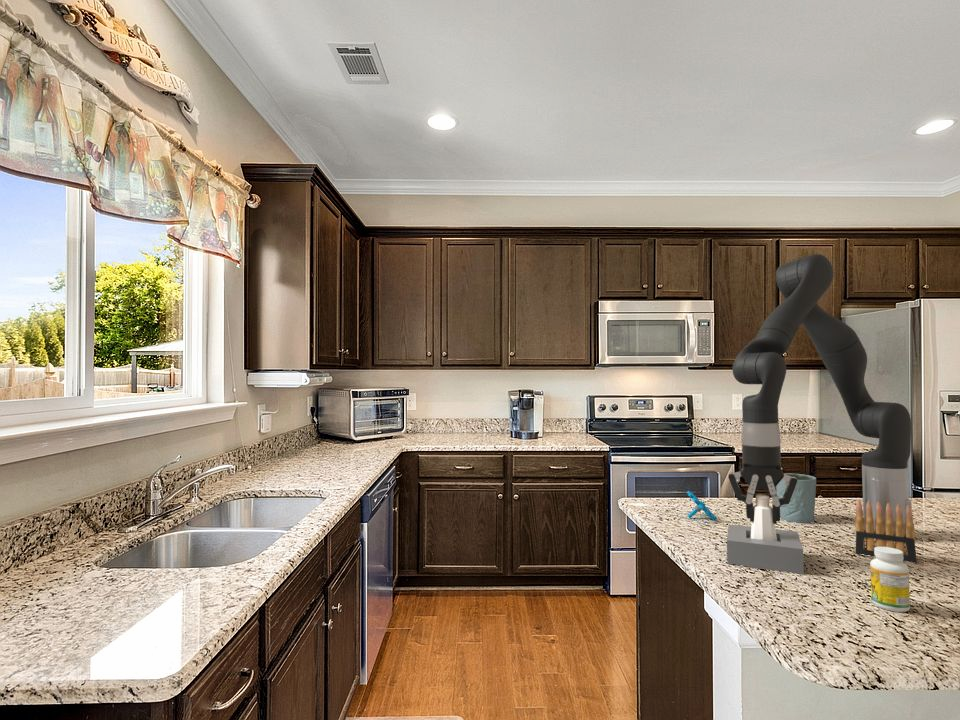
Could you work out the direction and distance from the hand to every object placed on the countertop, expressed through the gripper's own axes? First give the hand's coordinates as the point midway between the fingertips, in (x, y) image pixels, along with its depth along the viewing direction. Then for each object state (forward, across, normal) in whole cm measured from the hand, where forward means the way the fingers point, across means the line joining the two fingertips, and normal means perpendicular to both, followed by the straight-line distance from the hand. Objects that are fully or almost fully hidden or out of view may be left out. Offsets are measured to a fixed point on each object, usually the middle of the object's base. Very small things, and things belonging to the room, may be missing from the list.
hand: (763, 521), depth 118 cm
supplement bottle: (+8, -19, +18) cm, 27 cm away
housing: (+8, 0, 0) cm, 8 cm away
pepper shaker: (+6, 0, 0) cm, 6 cm away
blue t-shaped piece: (+8, +15, -31) cm, 35 cm away
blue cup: (+8, -9, -41) cm, 43 cm away
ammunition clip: (+8, -24, -13) cm, 28 cm away
